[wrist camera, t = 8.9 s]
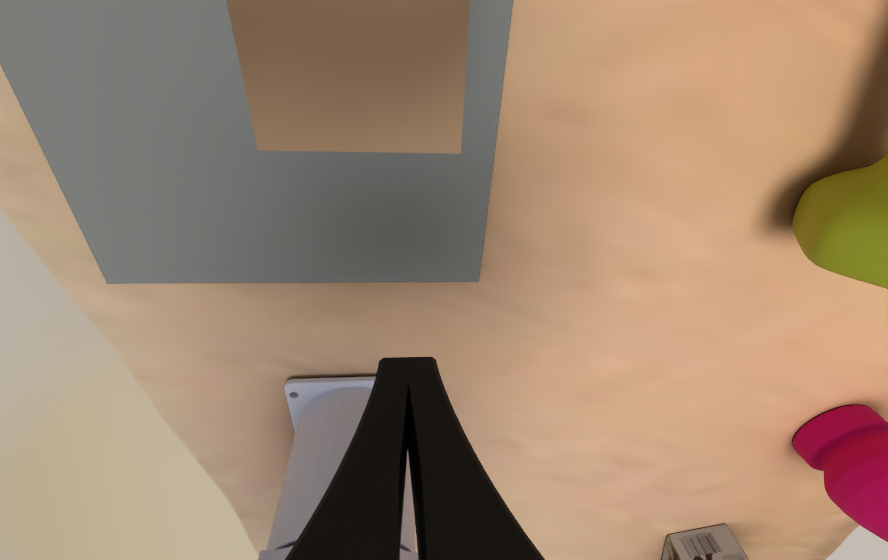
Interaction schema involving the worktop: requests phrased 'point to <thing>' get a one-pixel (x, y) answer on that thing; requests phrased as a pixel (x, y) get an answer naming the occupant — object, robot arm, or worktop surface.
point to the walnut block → (354, 73)
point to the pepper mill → (851, 462)
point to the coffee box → (703, 545)
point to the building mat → (236, 154)
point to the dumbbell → (847, 223)
